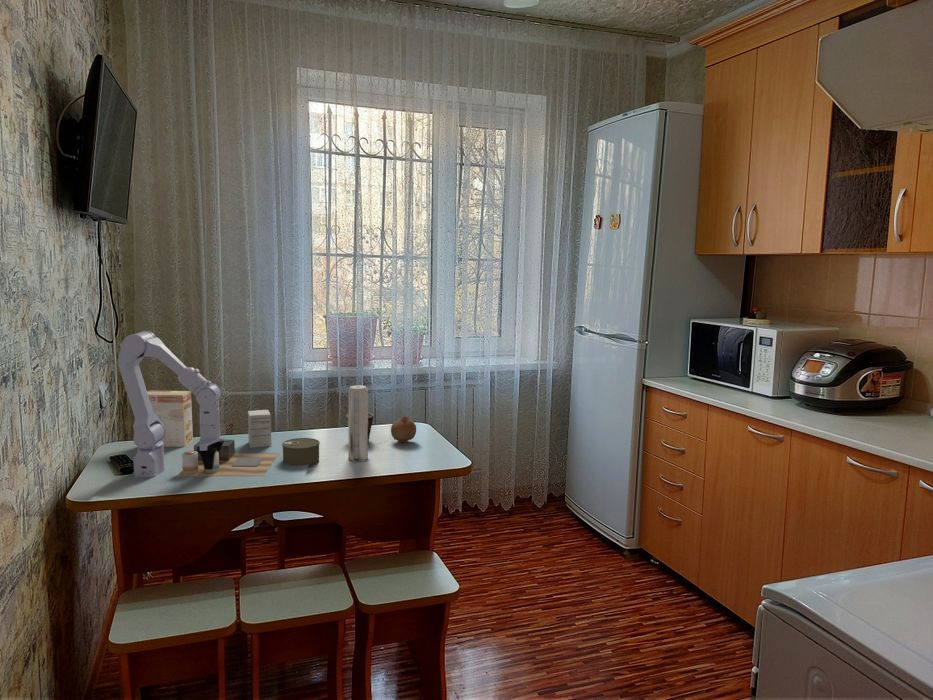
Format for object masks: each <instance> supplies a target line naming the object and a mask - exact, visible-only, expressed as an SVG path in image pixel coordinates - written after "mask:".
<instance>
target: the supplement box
mask: <svg viewBox="0 0 933 700" xmlns="http://www.w3.org/2000/svg"><path fill="white" fill-rule="evenodd" d="M247 426H248V427H247V428H248V430H247V433H248V435H247V436H248V444H249V447H250V449H251V448H253V449H254V448H261V447H262V448H263V447H271V446H272V415H271V413H270V411H269V409H257V410H248V411H247Z"/></svg>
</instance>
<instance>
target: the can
mask: <svg viewBox="0 0 933 700" xmlns="http://www.w3.org/2000/svg"><path fill="white" fill-rule="evenodd" d="M320 443H321V442H320V440H318V439H316V438H309V437H296V438H291V439H287V440H285V441H283V442H282V444H281V446H282V461H283V463H284V464H286V465H289V466H307V465H308V466H307V468H311V467H314V466H317V465H318V464H319V463H320Z"/></svg>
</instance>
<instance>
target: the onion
mask: <svg viewBox="0 0 933 700" xmlns="http://www.w3.org/2000/svg"><path fill="white" fill-rule="evenodd" d="M390 433H391V436H392V438H393V439H394V440H395V441H397V442H399V443H405V442H408V441H411V440H412V439H414V438H415V436H416V435H417V434H416V433H417V426H416V424H415V422H414V421H413V420H412V419H410V418H408V417H406V416H405V415H403V416H401V417H400V418H399V419H397V420H395V421H394V422H392V424H391V427H390Z"/></svg>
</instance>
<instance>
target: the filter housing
mask: <svg viewBox="0 0 933 700" xmlns="http://www.w3.org/2000/svg"><path fill="white" fill-rule="evenodd" d="M235 444H236V443H235V439H231V438H230V439H225V438H224V443H223V445H222V447H221V450H220V454H219V461H229V460H230V459H231V458H232V457H233V456H234V455H235V453H236V452H235V451H236V448H235ZM199 445H200V440H199V441H198V442H196V443H195V444H194V445H193V451H197V448H198V447H200V446H199ZM197 452H198V451H197ZM198 461H202V458H201V456H200V454H199V453H198Z"/></svg>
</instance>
